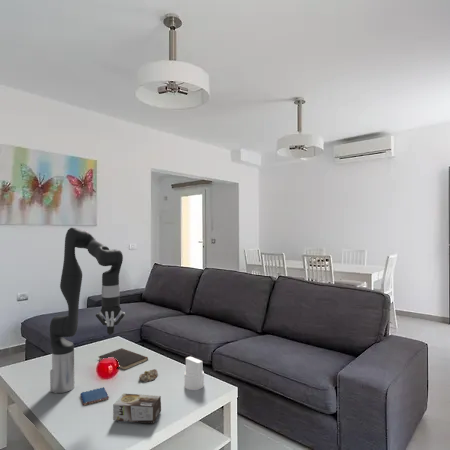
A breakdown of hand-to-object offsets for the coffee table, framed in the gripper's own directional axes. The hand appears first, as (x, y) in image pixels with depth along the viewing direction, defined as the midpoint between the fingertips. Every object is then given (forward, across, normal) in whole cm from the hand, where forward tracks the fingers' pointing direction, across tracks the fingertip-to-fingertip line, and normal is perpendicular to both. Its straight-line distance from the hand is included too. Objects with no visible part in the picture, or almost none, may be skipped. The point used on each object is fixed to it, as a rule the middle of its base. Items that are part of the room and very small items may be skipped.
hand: (111, 334), depth 149 cm
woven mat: (+28, -7, -1) cm, 29 cm away
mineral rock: (+28, +14, +17) cm, 35 cm away
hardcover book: (+28, -5, +40) cm, 49 cm away
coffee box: (+23, +7, -16) cm, 29 cm away
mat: (+27, +16, -16) cm, 35 cm away
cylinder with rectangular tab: (+27, +36, +7) cm, 46 cm away
